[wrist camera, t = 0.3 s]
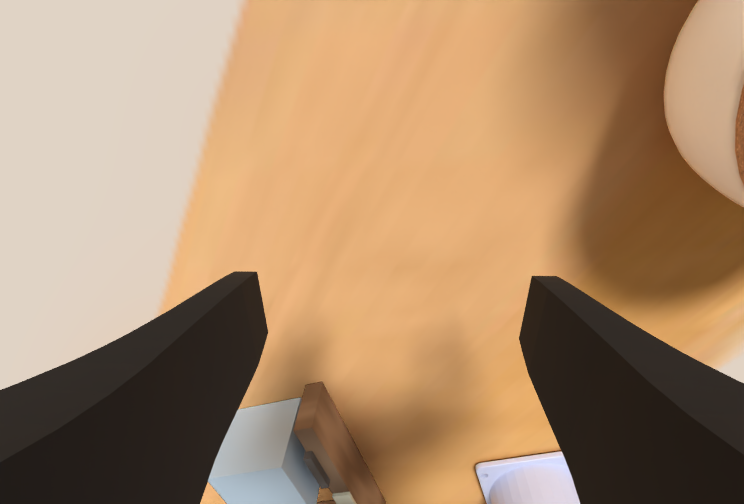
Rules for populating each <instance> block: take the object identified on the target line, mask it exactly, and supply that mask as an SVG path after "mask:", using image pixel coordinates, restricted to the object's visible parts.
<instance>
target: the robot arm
mask: <svg viewBox="0 0 744 504" xmlns="http://www.w3.org/2000/svg"><path fill="white" fill-rule="evenodd" d="M267 334H268V329H267V324H266V318H265V313H264V308H263V302H262V297H261V291H260V286H259V280H258V275H257V272H233V273H231V274H229V275H227V276H225V277H223V278H222V279H220V280H218V281H217V282H215V283H213V284H212V285H210V286H208V287H207V288H205V289H203V290H202V291H200V292H199V293H197V294H195V295H194V296H192V297H190V298H189V299H187V300H186V301H184V302H182V303H181V304H179V305H177V306H176V307H174V308H173V309H171V310H169V311H167V312H166V313H164V314H162V315H160V316H159V317H157V318H155V319H154V320H152V321H150V322H148V323H147V324H145V325H143V326H141V327H139V328H138V329H136V330H134V331H132V332H130V333H129V334H127V335H125V336H123V337H121V338H119V339H117V340H115V341H113V342H111V343H109V344H107V345H105V346H103V347H101V348H99V349H97V350H95V351H92V352H90V353H88V354H86V355H84V356H82V357H80V358H78V359H75V360H73V361H71V362H69V363H66V364H64V365H61V366H59V367H57V368H54V369H52V370H49V371H47V372H44V373H42V374H39V375H37V376H35V377H32V378H30V379H27V380H25V381H22V382H20V383H18V384H15V385H13V386H10V387H8V388H5V389H2V390H0V504H200V502H201V499H202V496H203V493H204V490H205V487H206V485H207V482H208V479H209V476H210V473H211V470H212V467H213V465H214V462H215V459H216V457H217V454H218V452H219V450H220V447H221V445H222V442H223V440H224V438H225V436H226V434H227V432H228V429H229V427H230V425H231V423H232V421H233V419H234V417H235V414H236V412H237V410H238V408H239V406H240V404H241V402H242V399H243V397H244V395H245V393H246V391H247V389H248V386H249V384H250V382H251V380H252V378H253V376H254V373H255V371H256V369H257V367H258V364H259V361H260V358H261V355H262V352H263V348H264V345H265V341H266V338H267ZM519 340H520V344H521V348H522V352H523V356H524V360H525V363H526V366H527V370H528V373H529V376H530V378H531V381H532V383H533V386H534V388H535V390H536V393H537V395H538V397H539V400H540V402H541V404H542V407H543V409H544V411H545V414H546V416H547V418H548V421H549V423H550V425H551V428H552V430H553V432H554V435H555V437H556V439H557V442H558V444H559V446H560V449H561V451H559V452H552V453H545V454H538V455H531V456H524V457H517V458H511V459H504V460H497V461H490V462H483V463H479V464H477V465H476V473H477V476H478V479H479V482H480V485H481V488H482V491H483V494H484V497H485V500H486V503H487V504H744V383H741V382H739V381H737V380H735V379H733V378H731V377H729V376H727V375H725V374H723V373H721V372H719V371H717V370H715V369H713V368H711V367H709V366H707V365H705V364H703V363H701V362H699V361H697V360H695V359H693V358H692V357H690V356H688V355H686V354H684V353H682V352H680V351H679V350H677V349H675V348H673V347H672V346H670V345H668V344H666V343H665V342H663V341H661V340H659V339H658V338H656V337H654V336H652V335H651V334H649V333H647V332H646V331H644V330H642V329H641V328H639V327H637V326H636V325H634V324H632V323H631V322H629V321H627V320H626V319H624V318H623V317H621V316H620V315H618V314H616V313H615V312H613V311H612V310H610V309H609V308H607V307H605V306H604V305H602V304H601V303H599V302H598V301H596V300H595V299H593V298H591V297H590V296H588V295H587V294H585V293H584V292H582V291H581V290H579V289H577V288H576V287H574V286H573V285H571V284H569V283H568V282H566V281H564V280H562V279H561V278H559V277H557V276H532V278H531V283H530V288H529V293H528V298H527V303H526V307H525V312H524V317H523V322H522V327H521V332H520V336H519Z"/></svg>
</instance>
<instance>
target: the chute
mask: <svg viewBox="0 0 744 504" xmlns="http://www.w3.org/2000/svg"><path fill="white" fill-rule="evenodd" d="M293 431H294V433H295V434H296V436H297V438H298V439H299V441H300V442H301V444H302V446H303V447H304V449H305V454H304V458H303V460H304V462H305V463H306V465H307V467H308V468H309V470H310V471H311V473H312V474H313V476H314V478H315V479H316V481H317V482H318V484H319V485H320V487H321V488H329V489H330V490H331V492H332V494H333V495H332V498H333V499H334V500H332V501H325V502H317V504H386V501H385V500H384V498H383V496H382V494H381V492H380V490H379V488H378V486H377V484H376V483H375V481H374V479H373V477H372V475H371V473H370V471H369V469H368V467H367V466H366V464H365V462H364V460H363V458H362V456H361V454H360V452H359V450H358V449H357V447H356V445H355V443H354V441H353V439H352V437H351V435H350V433H349V432H348V430H347V428H346V426H345V424H344V422H343V420H342V418H341V416H340V414H339V413H338V411H337V409H336V407H335V405H334V403H333V401H332V399H331V397H330V396H329V394H328V392H327V390H326V388H325V386H324V384H323V382H318V383H313V384H308V385H306V386H305V390H304V393H303V397H302V401H301V404H300V408H299V411H298V415H297V419H296V422H295V426H294V430H293ZM222 443H223V442H222ZM210 485H211V484H210ZM211 486H212V485H211ZM212 487H213V486H212ZM215 491H216V490H215ZM216 492H217V491H216ZM217 493H218V492H217ZM221 498H222V497H221ZM222 499H223V498H222ZM223 500H224V499H223ZM226 504H227V503H226Z"/></svg>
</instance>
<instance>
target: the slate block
mask: <svg viewBox="0 0 744 504" xmlns="http://www.w3.org/2000/svg"><path fill="white" fill-rule="evenodd" d="M301 401H302V398H301V397H300V398H294V399H289V400H284V401H279V402H274V403H269V404H264V405H259V406H253V407H248V408H243V409H238V410H237V412H236V414H235V417H234V419H233V421H232V423H231V425H230V427H229V429H228V432H227V434H226V436H225V438H224V440H223V443H222V445H221V447H220V450H219V452H218V454H217V457H216V459H215V462H214V465H213V467H212V470H211V473H210V476H209V479H208V482H209V483H210V484H211V485H212V486H213V488H214V489H215V490H216V491H217V492H218V494H219V495H220V496H221V497H222V498H223V499H224V501H225V502H226V503H227V504H317V498H318V492H319V487H320V485H319V484H318V482H317V481H316V479H315V478H314V476H313V474H312V473H311V471H310V470H309V468H308V467H307V465H306V463H305V462H304V460H303V458H304V454H305V449H304V447H303V446H302V444H301V442H300V441H299V439H298V438H297V436H296V434H295V433H294V431H293V430H294V426H295V422H296V419H297V415H298V411H299V408H300V404H301Z"/></svg>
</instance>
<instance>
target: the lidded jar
mask: <svg viewBox="0 0 744 504" xmlns="http://www.w3.org/2000/svg"><path fill="white" fill-rule="evenodd" d="M664 110H665V117H666V121H667V125H668V129H669V132H670V134H671V136H672V138H673V140H674V142H675V145H676V147H677V148H678V150H679V152H680V154H681V156H682V157H683V158H684V160H685V161H686V162H687V163H688V165H689V166H690V167H691V168H692V169H693V170H694V171H695V172H696V173H697V174H698V175H699V176H700V177H701V178H702V179H703V180H704V181H706V182H707V183H708V184H709V185H711V186H712V187H713V188H714V189H716V190H717V191H718V192H720V193H721V194H723V195H724V196H726V197H727V198H729V199H730V200H731V201H733V202H735V203H737V204H738V205H740V206H742V207H744V0H698V2H697V3H696V4H695V6H694V7H693V9H692V11H691V13H690V14H689V16H688V18H687V20H686V22H685V23H684V25H683V27H682V29H681V31H680V33H679V35H678V37H677V40H676V42H675V45H674V47H673V50H672V52H671V56H670V59H669V63H668V67H667V71H666V78H665V87H664Z"/></svg>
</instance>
